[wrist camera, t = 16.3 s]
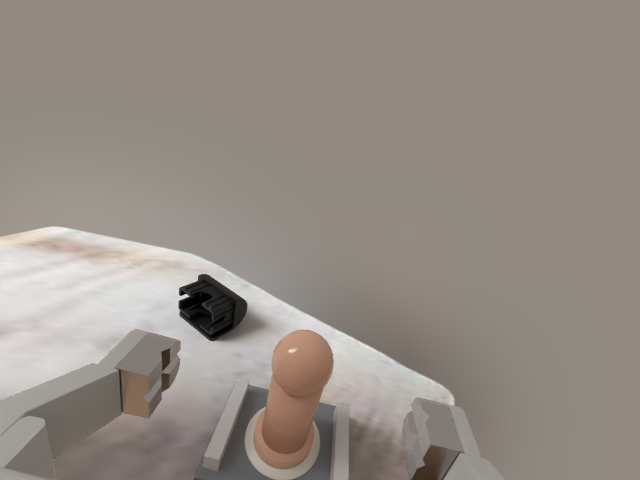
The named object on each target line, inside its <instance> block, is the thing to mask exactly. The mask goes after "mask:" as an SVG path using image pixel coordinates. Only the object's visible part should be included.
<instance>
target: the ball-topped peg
mask: <svg viewBox="0 0 640 480" xmlns="http://www.w3.org/2000/svg"><path fill="white" fill-rule="evenodd" d="M333 365H334V360H333V354H332V350H331V348H330V346H329V344H328V343H327V341H326V340H325V339H324V338H323V337H322V336H321V335H319V334H317V333H315V332H313V331H310V330H297V331H293V332H291V333H289V334H287V335H286V336H284V337H283V338H282V339H281V340H280V341H279V343H278V344H277V346H276V348H275V350H274V352H273V356H272V372H273V374H272V379H271V384H270V388H269V393H268V398H267V403H266V407H265V409H264V410H263V411H262V413H261V414H260V415H259V417H258V419H257V422H256V425H255V430H254V436H253V442H254V447H255V450H256V452H257V454H258V456H259V457H260V459H261V460H262V461H263V462H264V463H266V464H267V465H269V466H271V467H273V468H276V469H291V468H294V467H296V466H298V465H299V464H301V463H302V462H303V461H304V460H305V459H306V457H307V456H308V454H309V452H310V449H311V446H312V443H313V440H314V426H313V420H314V416H315V413H316V410H317V407H318V403H319V400H320V397H321V394H322V391H323V387H324V386H325V385H326V384H327V382H328V381H329V379H330V377H331V375H332V371H333Z"/></svg>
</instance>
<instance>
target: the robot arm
mask: <svg viewBox="0 0 640 480" xmlns="http://www.w3.org/2000/svg"><path fill="white" fill-rule="evenodd" d="M179 350H180V341H179V340H176V339H173V338H169V337H165V336H161V335H158V334H154V333H149V332H146V331H142V330H138V329H135V330H133V331H131V332H130V333H129V334H128V335H127V336H126V337H125V338H124V339H123V340H122V341H121V342H120V343H119V344H117V345H116V346H115V347H114V348H113V349H112V350H111V351H110V352H109V353H108V354H107V355H106V356H105V357H104V358H103V359H102V360H101V361H100V362H99V363H98V364H93V363H92V364H90V365H87V366H85V367H83V368H80V369H78V370H75V371H73V372H70V373H68V374H65V375H63V376H60V377H58V378H56V379H53V380H51V381H48V382H46V383H43V384H41V385H38V386H36V387H33V388H31V389H29V390H26V391H24V392H21V393H19V394H16V395H14V396H11V397H9V398H6V399H4V400H2V401H0V480H57V475H56V471H55V466H54V461H53V459H54V458H56V457H57V456H59V455H60V454H62V453H63V452H65V451H66V450H68V449H70V448H71V447H73V446H74V445H76V444H77V443H79V442H80V441H82V440H83V439H85V438H86V437H88V436H89V435H91V434H92V433H94V432H95V431H97V430H98V429H100V428H101V427H103V426H105V425H106V424H108V423H109V422H111V421H112V420H114V419H115V418H117V417H118V416H120V415H121V413H126V414H131V415H135V416H140V417H145V418H149V417H150V416H151V414H152V413H153V411H154V410H155V408H156V407H157V405H158V404H159V402H160V401H161V393H162V392H163V391H164V390H166V389H168V388H169V387H170V386H171V384H172V383H173V381H174V379H175V377H176V375H177V372H178V369H179V365H180V358H179V357H178V355H177V353H178V352H179ZM411 406H412V412H410V413H408V414H407V415H406V417H405V420H404V424H403V442H404V446H405V447H406V448H407V450H408V451H409V455H408V457H407V458H406V461H407V467H408V473H409V479H410V480H505V479H504V478H503V476H502V475H501V474H500V473H499V472H498V471H497V470H496V469H495V468H494V467H493V465H492V464H491V463H490V462H489V461H488V460H487V459H485V458H482V456H481V454H480V451H479V448H478V446H477V443H476V441H475V438H474V435H473V433H472V430H471V428H470V425H469V423H468V420H467V418H466V415H465V412H464V410H463V409H462V408H460V407H456V406H452V405H447V404H443V403H439V402H435V401H430V400H426V399H422V398H415V399H414V401H413V403H412V405H411Z"/></svg>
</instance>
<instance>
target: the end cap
mask: <svg viewBox="0 0 640 480" xmlns="http://www.w3.org/2000/svg"><path fill="white" fill-rule="evenodd" d="M184 294H187V295H189V296H190V297H187V298H185V299H182V300H180V301H179V310H180V316H181V317H182V318H183V319H184V320H185V321H187V322H188V323H189V324H190V325H191V326H193V327H194V328H195V329H196V330H198V331H199V332H200V333H201V334H202V335H204V336H205V337H206V338H207V339H208V340H210V341H213V340H215V339H217V338H219V337H220V336H222V335H224V334H226V333H227V332H229V331H231V330H232V329H233V328H235V327H236V326H237V325H238V324H239V323H240V322H241V321H242V319H243V318H244V316H245V314H246V311H247V302H246V301H245V300H244V299H243V298H241V297H240V296H238V295H237V294H236V293H234V292H233V291H231V290H230V289H228V288H227V287H225V286H224V285H222V284H221V283H219V282H218V281H216V280H215V279H214V278H212V277H211V276H209V275H207V274H201V275H199V276H198V281H197V282H194V283H191V284H189V285H186V286H183V287H181V288H179V295H180V296H182V295H184Z"/></svg>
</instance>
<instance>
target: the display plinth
mask: <svg viewBox="0 0 640 480" xmlns="http://www.w3.org/2000/svg"><path fill="white" fill-rule="evenodd" d="M268 393H269V390H267V389H263V388H258V387H254V386H250V385H249V381H248V380H244V379H240V378H237V380H236V382H235V385H234V387H233V389H232V392H231V394H230V396H229V398H228V401H227V403H226V405H225V408H224V410H223V412H222V415H221V417H220V419H219V422H218V424H217V426H216V429H215V431H214V433H213V436H212V438H211V440H210V442H209V445H208V447H207V449H206V452H205V454H204V456H203V459H202V461H201V463H200V466H199V468H198V470H197V473H196V475H195V477H194V480H349V405H347V404H342V403H338V402H337V405H336V406H332V405H328V404H324V403H320V402H319V403H318V407H317V410H316V413H315V416H314V420H313V426H314V440H313V443H312V446H311V449H310V452H309V454H308V456H307V457H306V459H305V460H304V461H303V462H302V463H301V464H299V465H298V466H296V467H294V468H291V469H276V468H273V467H271V466H269V465H267V464H266V463H264V462H263V461H262V460H261V459H260V457H259V456H258V454H257V452H256V450H255V447H254V442H253V436H254V430H255V425H256V422H257V419H258V417H259V415H260V414H261V413H262V411H263V410H264V409H265V407H266V403H267V398H268Z"/></svg>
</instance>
